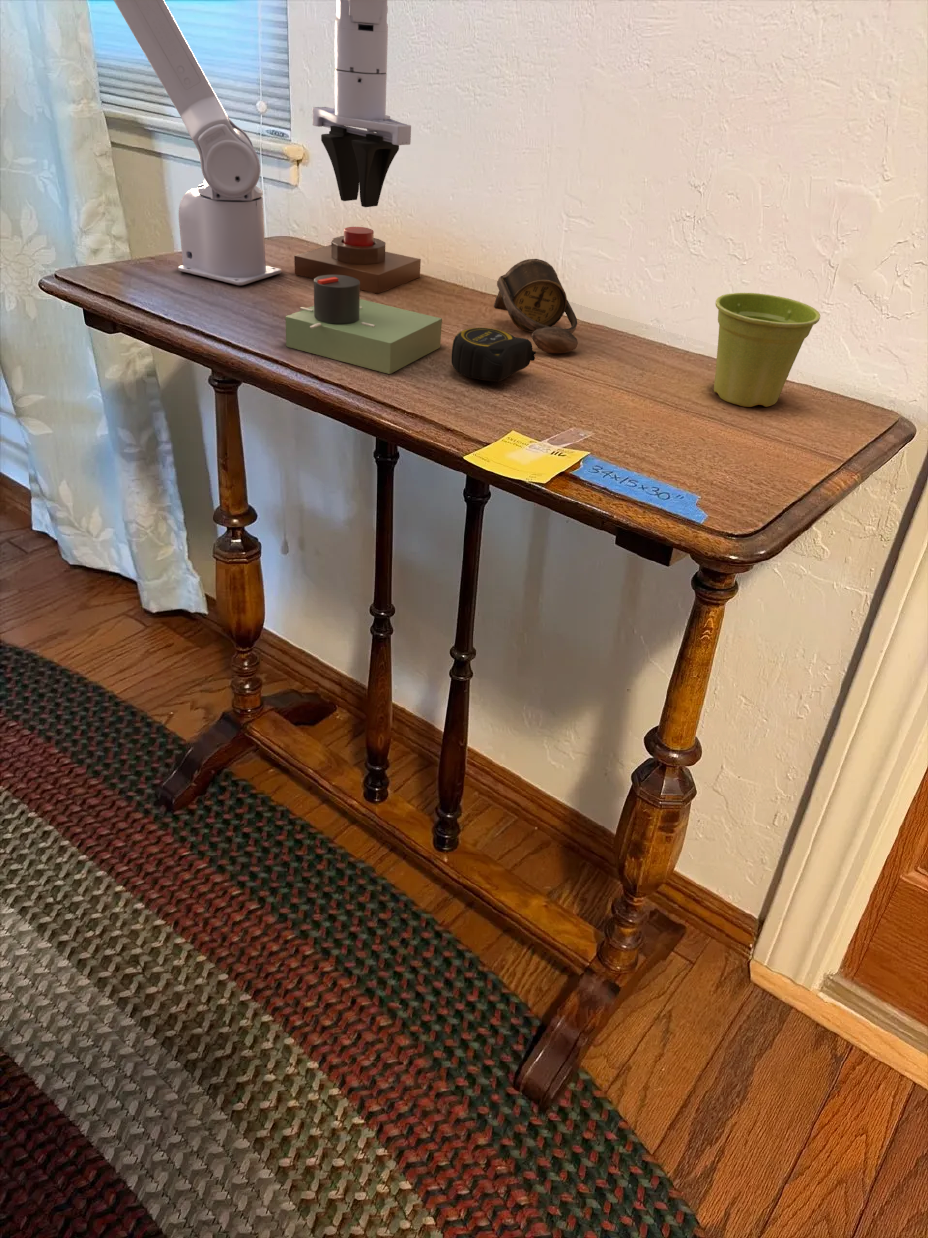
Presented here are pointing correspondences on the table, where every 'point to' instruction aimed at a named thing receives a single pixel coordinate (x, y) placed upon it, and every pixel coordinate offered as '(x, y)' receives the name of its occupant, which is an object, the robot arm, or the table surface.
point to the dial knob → (336, 299)
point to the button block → (359, 264)
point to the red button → (358, 236)
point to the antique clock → (537, 304)
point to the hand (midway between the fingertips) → (359, 202)
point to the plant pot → (758, 345)
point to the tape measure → (490, 353)
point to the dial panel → (367, 336)
